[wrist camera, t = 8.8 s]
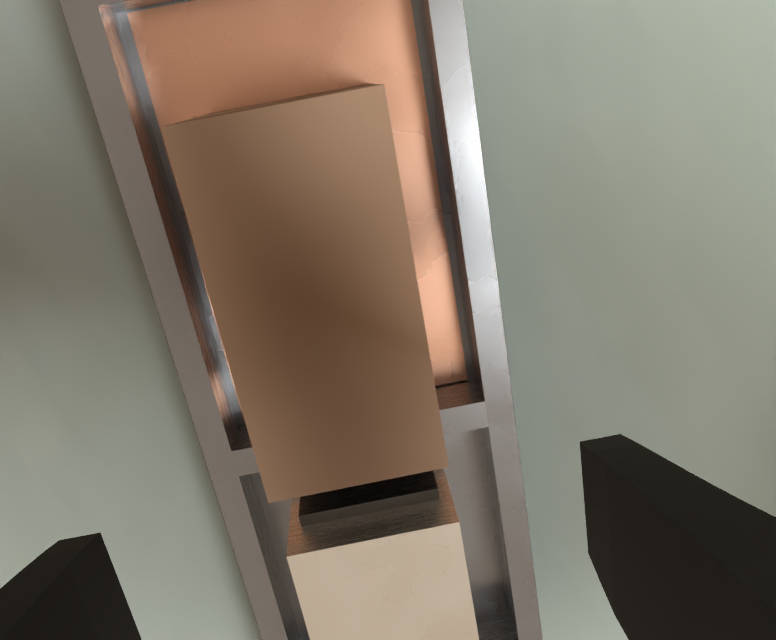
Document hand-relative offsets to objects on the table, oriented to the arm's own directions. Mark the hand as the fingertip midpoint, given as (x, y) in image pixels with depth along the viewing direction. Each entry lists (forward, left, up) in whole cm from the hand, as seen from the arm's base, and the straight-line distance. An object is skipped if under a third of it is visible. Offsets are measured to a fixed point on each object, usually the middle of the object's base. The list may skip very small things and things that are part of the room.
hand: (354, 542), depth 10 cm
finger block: (0, -2, -9) cm, 9 cm away
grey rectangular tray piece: (0, +1, -10) cm, 10 cm away
